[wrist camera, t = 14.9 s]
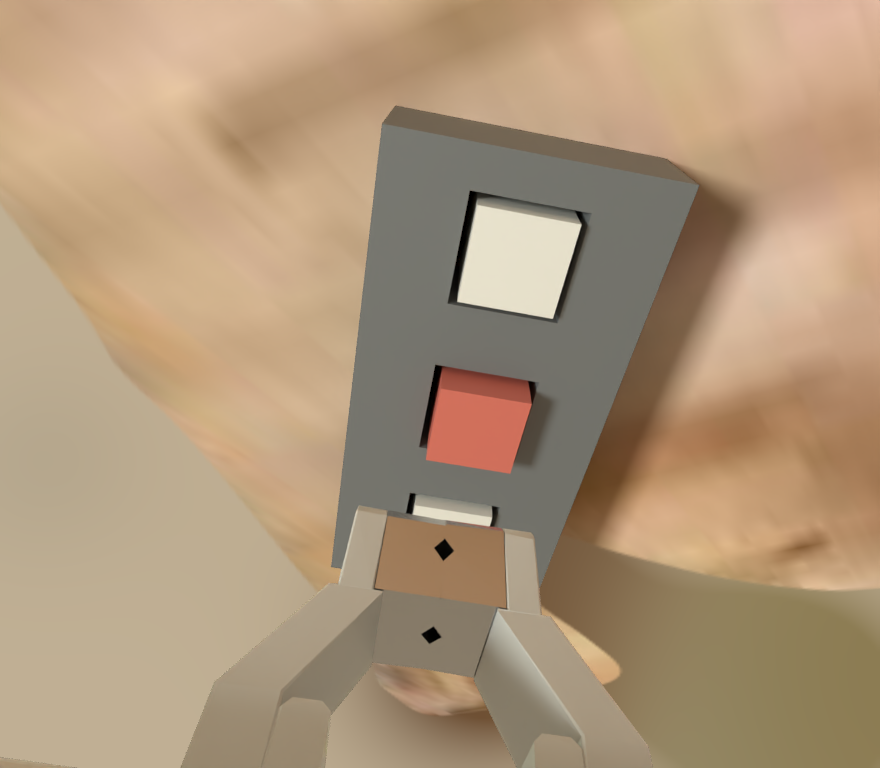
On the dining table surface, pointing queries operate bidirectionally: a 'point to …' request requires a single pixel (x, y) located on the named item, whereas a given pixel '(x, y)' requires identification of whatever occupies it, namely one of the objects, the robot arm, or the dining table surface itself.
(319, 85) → the dining table surface
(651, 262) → the button console
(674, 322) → the dining table surface
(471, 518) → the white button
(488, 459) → the red button
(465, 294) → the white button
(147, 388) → the dining table surface
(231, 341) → the dining table surface
